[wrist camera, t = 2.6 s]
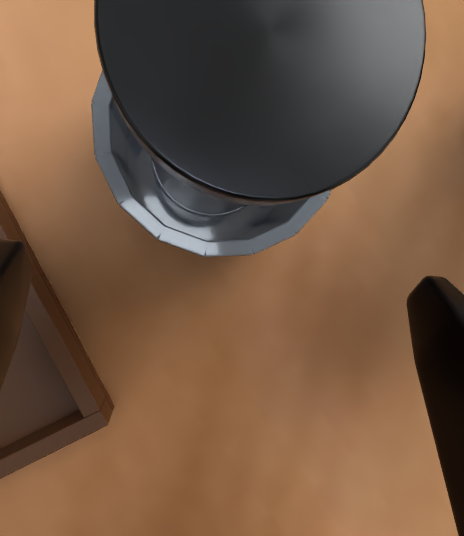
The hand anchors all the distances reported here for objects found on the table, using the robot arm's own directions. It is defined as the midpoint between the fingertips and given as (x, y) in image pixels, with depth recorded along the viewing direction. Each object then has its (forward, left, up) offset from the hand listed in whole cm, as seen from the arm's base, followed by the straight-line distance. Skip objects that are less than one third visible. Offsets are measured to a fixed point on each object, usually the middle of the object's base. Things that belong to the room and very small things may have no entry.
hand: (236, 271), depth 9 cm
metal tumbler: (+4, -2, -11) cm, 12 cm away
